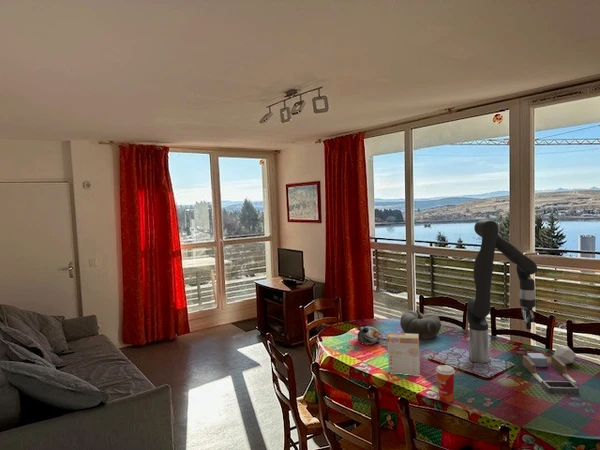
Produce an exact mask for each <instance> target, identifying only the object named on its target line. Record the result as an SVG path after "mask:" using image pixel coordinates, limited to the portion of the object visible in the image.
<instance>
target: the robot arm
mask: <svg viewBox="0 0 600 450" xmlns="http://www.w3.org/2000/svg"><path fill="white" fill-rule="evenodd" d="M473 227H474V233H476V234H477V235H478V236H479V237H481V245H480V249H479V251H478V253H477V254H476V257H475V259H474V262H473V273H472V274H473V280H474V286H475V296H474V297H472V298H470V299H469V300H468V301H467V306H466V312H467V322H468V325H469V340H468V358H469V360H470V361H471V362H474V363H477V364H484V363H485V364H486V363H488V362H490V346H489V323H488V321H487V319H486V317H487V316H489V314H490V312H491V291H492V279H493V272H494V271H493V270H494V260H495V250H497V251H499V252H500V253H501V254H502V255H503V256H504V257H506V259H508V260H509V262H511V263H512V264H514V265H516V267H515V268H516V273H517V276H518V279H519V306H520V307H522V308H521V309H520V312H521V315H522V318H523V320H524V322H525V330H531V329H532V323H534V321H535V318H536V314H534V310H533V309H534V308H536V306H537V303H536V302H537V301H536V300H537V299H536V298H537V297H536V288H535V287H536V281H535V279H534V278H532V277H531V275H535V274H536V273H537V272H538V266H537V263H536V262H534V261H533V260H532V259H531V258H529V257H528V256H527V255H524V253H522V252H521V251H520V249H518V247H516V246H515V245H514V244H513V243H511V242H510V241H508V240H506V239H505V238H503V237H502V236H501V235H499V225H498V222H496V221H495V220H493V219H492V220H491V219H480V220H478V221H477V222H475V224H474V226H473Z"/></svg>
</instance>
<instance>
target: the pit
mask: <svg viewBox="0 0 600 450" xmlns="http://www.w3.org/2000/svg"><path fill="white" fill-rule="evenodd" d="M541 386H542V387H543V389H544V390H546V392H547V393H548V394H565V395H566V394H568V395H574V394H575V395H578V394H580V388H579V387H578V386H577V384H573V383H572V382H571V381H569V380H560V381H559V380H543V381H542V383H541Z"/></svg>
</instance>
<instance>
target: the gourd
mask: <svg viewBox="0 0 600 450" xmlns="http://www.w3.org/2000/svg"><path fill="white" fill-rule="evenodd" d="M399 324H400V327H401V329H402V331H403V333H408V334H419V340H420V339H421V340H429V339H432V338H434V337H435V336H437V335H438V334H439V332H440V330H441V327H442V322H441V319H440V317H439V316H438V315H437V314H436V313H434V312H433V313H432V312H428V313H421V312H419V309H417V310H406V311H405V312H404V313H402V315H401V316H400V320H399Z"/></svg>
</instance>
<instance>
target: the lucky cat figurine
mask: <svg viewBox="0 0 600 450" xmlns="http://www.w3.org/2000/svg"><path fill="white" fill-rule="evenodd" d="M382 337H383V333H381V332H379V330H378V329H377V328H375V327H374V326H370V325H366V326H364V327H363V326H360V327H359V331H358V333H357V342H359V343H360V342H361V343H363V344H370V345H373V344H377V343H376V342H378V343H380V342H381V339H382ZM361 343H360V344H361ZM363 344H362V345H363Z"/></svg>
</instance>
